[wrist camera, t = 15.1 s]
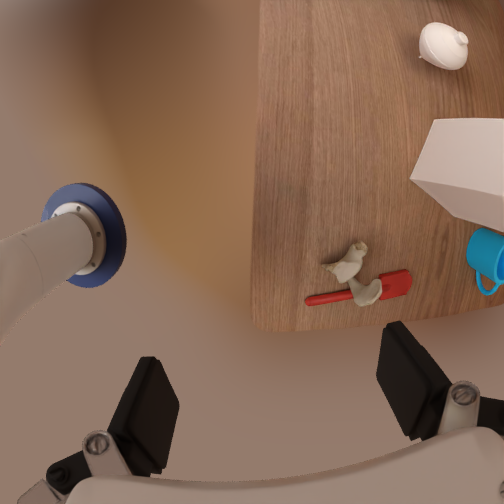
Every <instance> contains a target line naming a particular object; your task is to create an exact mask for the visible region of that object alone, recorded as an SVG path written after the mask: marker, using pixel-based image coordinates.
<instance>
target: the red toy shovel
mask: <svg viewBox="0 0 504 504" xmlns="http://www.w3.org/2000/svg"><path fill="white" fill-rule="evenodd" d="M379 279H380V280H381V282H382V294H381V295H380V297H379V300H385V299H389V298H393V297H397V296H402V295H406V294H407V292H408V290H409V289H410V287H411V284H412V278H411V275H410V274H409V271H407V270H406V269H405V270H400V271H395V272H390V273H385V274H380V275H379ZM348 299H353V295H352V292H351V290H346V291H341V292H335V293H330V294H324V295H318V296H312V297H308V298H307V299H306V300H305V303H306V305H307V306H315V305H320V304H326V303H332V302H337V301H342V300H348Z"/></svg>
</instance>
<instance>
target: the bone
mask: <svg viewBox="0 0 504 504" xmlns="http://www.w3.org/2000/svg"><path fill="white" fill-rule="evenodd" d="M366 254H367V246H366V245H365V244H364V243H363V241H361V240H360V241H358V242H356V243H353V244H352V245H351V246H350V249H349V250H348V252H347V254H346V255H345V256H344V257H343V258H342V259H341V260H340V261H338V262H336V263H332V264H322V267H323V268H325V270H326V271H330V272H331V273H333V274H335V275H336V277H337V279H338V282H339V283H344V282H346V281H347V282H348V284H349V286H350V289H351V292H352V295H353V298H354V302H355V303H356V304H357V305H358V306H360V307H363V306H365V305H371V304H373V303H374V302H375V301H376V299H377V298H379V297H380V295H381V294H382V282H381V280H380V279H374V280H373V281H372V282H371V284H369V285H363V284H361V283H360V282H359V281H357V280H356V278H355V277H354V276H355V275H356V274H357V273H358V272H359V271H360V269H361V267H362V263H363V261H362V258H363V256H365V255H366Z"/></svg>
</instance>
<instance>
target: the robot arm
mask: <svg viewBox="0 0 504 504" xmlns="http://www.w3.org/2000/svg"><path fill="white" fill-rule="evenodd" d="M100 233H101V234H100ZM105 253H106V235H105V230H104V228H103V225H102V222H101V221H100V219H99V217H98V216H97V214H96V213H95V212H94V211H93V210H92V209H91V208H90V207H89V206H87V205H85V204H83V203H80V202H68V203H65V204H62V205H61V206H59V207H58V208H57V209H56V210H55V211H54V213H53V215H52V216H51V219H48V220H46V221H43V222H41V223H39V224H36V225H34V226H31V227H29V228H26V229H24V230H22V231H20V232H17V233H15V234H13V235H10V236H8V237H6V238H4V239H2V240H0V346H1V344H2V343H3V341H4V340H5V338H6V337H7V335H8V334H9V332H10V331H11V329H12V328H13V327H14V326H15V324H16V323H17V322H18V321H19V320H20V319H21V318H22V317H23V316H24V315H25V314H26V313H27V312H28V311H30V310H31V309H32V308H33V307H34V306H35V305H37V304H38V303H39V302H40V301H41V300H43V299H44V298H45V297H46V296H47V295H48V294H50V293H51V292H52V291H53V290H55V289H56V288H57V287H58V286H60V285H61V284H62V283H63V282H65V281H66V280H67V279H68V278H70V277H71V276H72V275H74V274H77V275H86V274H89V273H91V272H93V271H94V270H95V269H97V268H98V267H99V265H100V264H101V263H102V261H103V259H104V256H105ZM376 376H377V381H378V383H379V384H380V386H381V388H382V390H383V392H384V394H385V396H386V398H387V400H388V402H389V404H390V406H391V408H392V410H393V412H394V414H395V416H396V418H397V421H398V423H399V425H400V427H401V429H402V431H403V433H404V435H405V436H409V438H410V440H411V441H412V440H415V439H417V438H419V437H420V438H421V440H422V442H419V443H417V444H414V445H412V446H409V447H407V448H404V449H401V450H398V451H396V452H393V453H389V454H387V455H384V456H381V457H378V458H374V459H371V460H368V461H364V462H361V463H358V464H353V465H350V466H346V467H341V468H337V469H333V470H328V471H323V472H318V473H313V474H307V475H301V476H295V477H287V478H279V479H270V480H258V481H239V482H201V481H183V480H170V479H159V478H151V477H150V475H151V473H154V474H161V473H162V469H164V468H165V467H166V465H167V460H168V455H169V451H170V447H171V442H172V437H173V433H174V428H175V424H176V419H177V416H178V411H179V401H178V398H177V396H176V395H175V393H174V390H173V388H172V386H171V384H170V382H169V380H168V377H167V375H166V373H165V371H164V368H163V366H162V364H161V362H160V360H157V359H156V358H155V357H141V358H140V360H139V362H138V364H137V367H136V368H135V371H134V373H133V375H132V377H131V379H130V381H129V384H128V386H127V387H126V389H125V391H124V393H123V395H122V397H121V400H120V402H119V404H118V406H117V409H116V411H115V413H114V415H113V418H112V420H111V422H110V425H109V427H108V429H107V432H106V431H103V430H97V431H93V432H91V433H90V434H88V435H87V436H86V437H85V438H84V441H83V443H82V449H83V450H82V451H80V452H78V453H76V454H73V455H71V456H69V457H67V458H65V459H63V460H60V461H58V462H56V463H54V464H52V465H51V466H50V467H49V468H48V470H47V473H46V480H43V479H41V480H40V481H39V482H38V483H37V484H35V485H34V486H33V487H32V488H30V489H29V490H28V491H27V492H25V493H24V494H23V495H22V496H21V497H20V498H19V499H18V501H17V504H504V401H503V400H497V399H491V398H487V397H482V396H480V391H479V389H478V387H477V386H476V385H475V384H473V383H471V382H468V381H459V382H456V383H454V384H452V383H451V382H450V381H449V379H448V378H447V376H446V375H445V374H444V372H443V371H442V370H441V368H440V367H439V366H438V364H437V363H436V362H435V361H434V359H433V358H432V357H431V356H430V354H429V353H428V352H427V350H426V349H425V348H424V347H423V346H421V345H420V344H419V342H418V341H417V340H416V339H415V338H414V336H413V335H412V334H411V333H410V331H409V330H408V329H407V328H406V327H405V326H404V324H403V323H402V322H401V321H396V322H392V323H388V324H387V325H386V328H384V329H383V333H382V340H381V348H380V354H379V361H378V367H377V372H376Z"/></svg>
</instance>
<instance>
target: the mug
mask: <svg viewBox="0 0 504 504" xmlns="http://www.w3.org/2000/svg"><path fill="white" fill-rule="evenodd" d="M466 257H467V262H468V264H469V266H470V267H472V268H473V269H475V270H476V280H477V285H478V288H479V290H480V291H481V292H482V294H484V295H492V294H493V293H494V292H495V291H496V290H497V288H498V287H499V285H502V284H504V236H502V235H499V234H497V233H495V232H492V231H490V230H488V229H485V228H480V229H478V230H476V231H475V232H474V234H473V235H472V236H471V238H470V241H469V243H468V247H467V254H466ZM480 273H481V274H483V275H485V276H486V277H488V278H489V279H491V280H492V281H494V282H495V283H496V284H495V286H494V287H493V289H491V290H489V291H488V290H486V289H485V288H484V287H483V285H482V282H481V277H480Z"/></svg>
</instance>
